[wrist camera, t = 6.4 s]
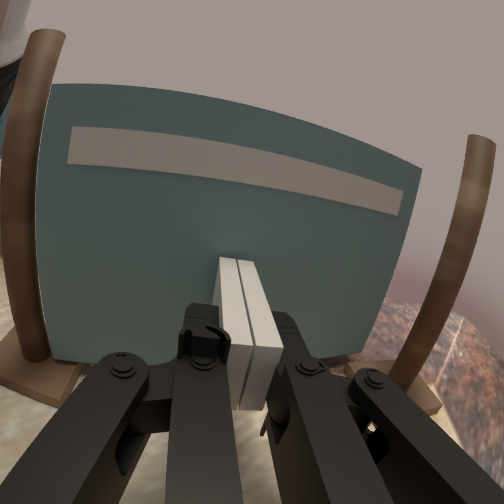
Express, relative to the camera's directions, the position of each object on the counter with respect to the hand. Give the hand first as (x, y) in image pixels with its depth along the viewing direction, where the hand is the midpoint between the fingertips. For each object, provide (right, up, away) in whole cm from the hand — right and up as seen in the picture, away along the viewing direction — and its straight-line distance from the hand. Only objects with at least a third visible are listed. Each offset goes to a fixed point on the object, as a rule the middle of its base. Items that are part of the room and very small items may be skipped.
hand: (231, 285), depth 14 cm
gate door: (-1, -5, +3) cm, 6 cm away
